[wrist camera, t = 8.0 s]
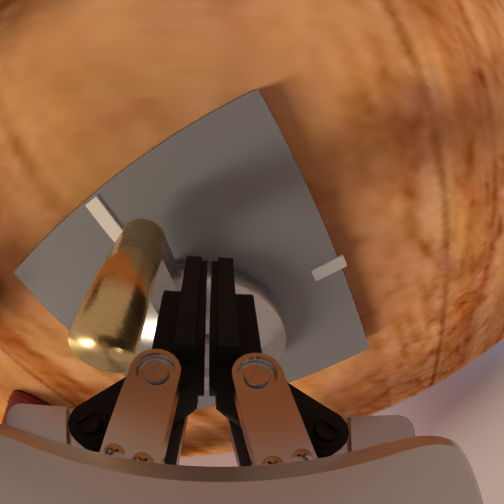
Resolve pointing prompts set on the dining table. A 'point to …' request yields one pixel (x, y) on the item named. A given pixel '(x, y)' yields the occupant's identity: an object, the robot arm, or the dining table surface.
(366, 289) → the dining table surface
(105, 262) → the crank handle
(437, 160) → the dining table surface
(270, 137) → the base
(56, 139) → the dining table surface
